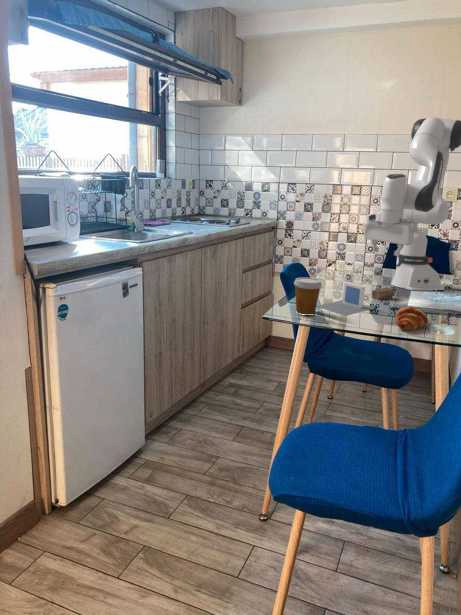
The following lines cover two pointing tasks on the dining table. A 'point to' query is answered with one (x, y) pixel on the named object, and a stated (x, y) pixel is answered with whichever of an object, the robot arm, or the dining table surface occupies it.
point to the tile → (353, 295)
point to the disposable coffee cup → (306, 294)
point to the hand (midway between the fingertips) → (385, 253)
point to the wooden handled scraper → (382, 293)
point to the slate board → (343, 308)
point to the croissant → (410, 318)
